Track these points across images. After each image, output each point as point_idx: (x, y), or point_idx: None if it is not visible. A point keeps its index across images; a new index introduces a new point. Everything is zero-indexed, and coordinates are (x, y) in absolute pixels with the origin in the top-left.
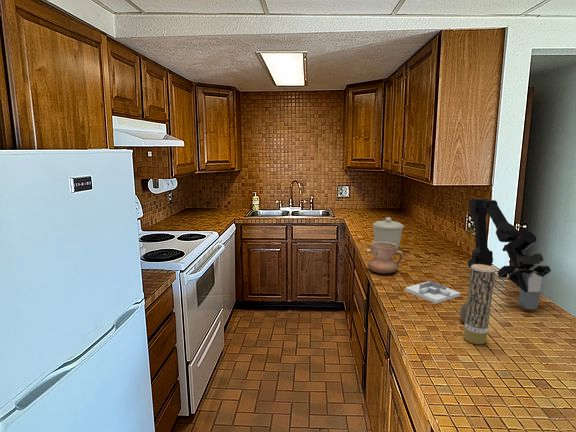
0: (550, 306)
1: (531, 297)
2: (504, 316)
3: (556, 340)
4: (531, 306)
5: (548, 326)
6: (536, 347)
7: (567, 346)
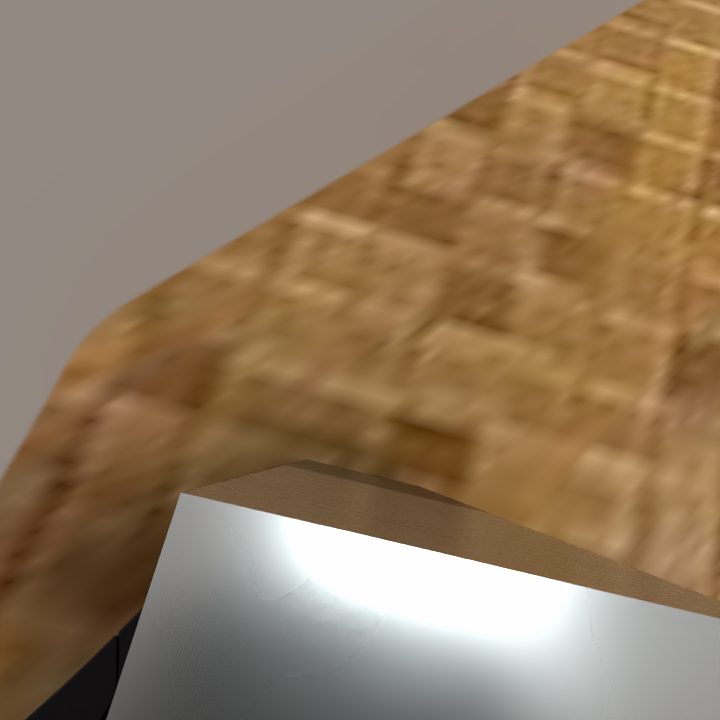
0: (18, 549)
1: (403, 488)
2: (631, 482)
3: (547, 131)
4: (372, 476)
5: (434, 262)
6: (716, 118)
7: (544, 76)
